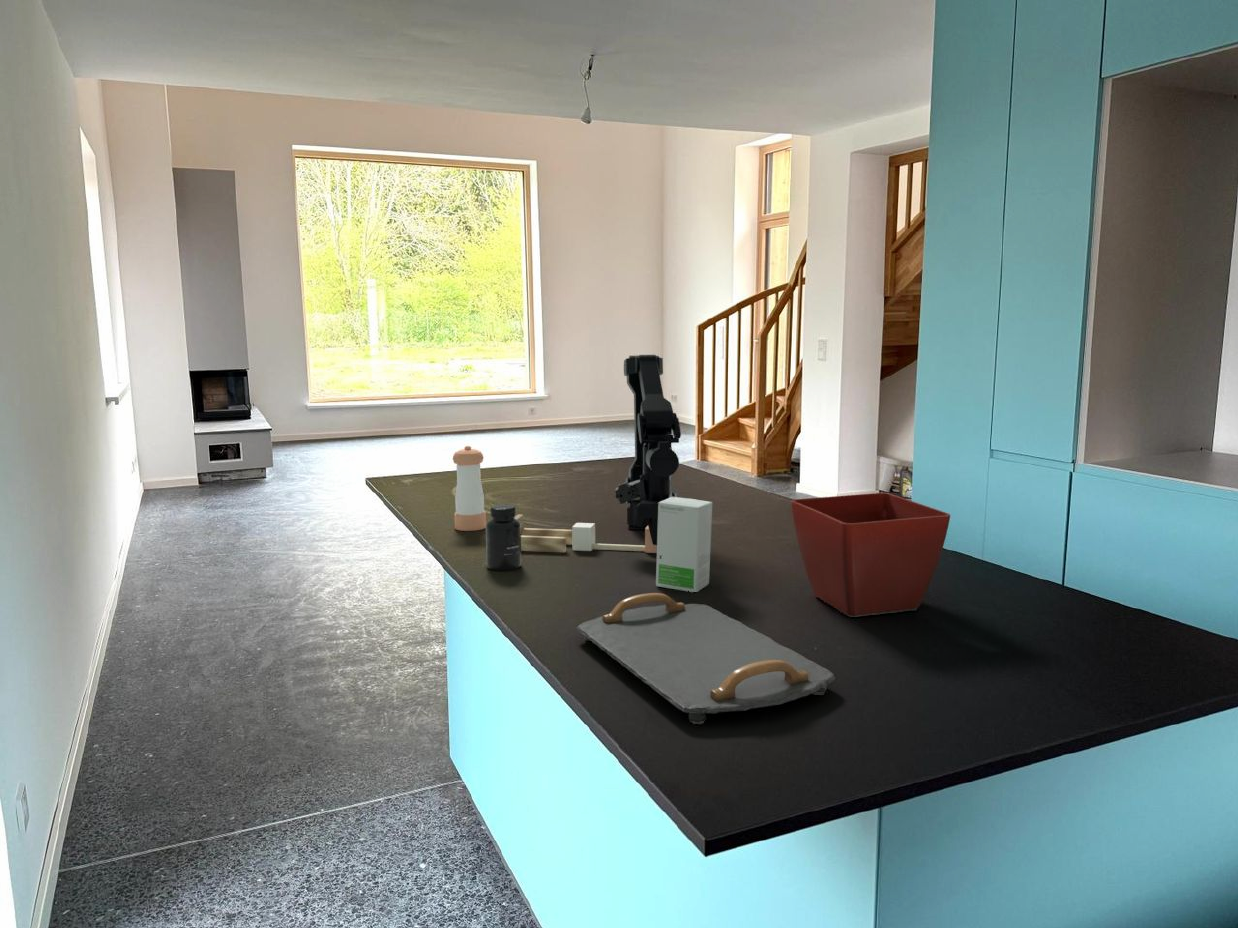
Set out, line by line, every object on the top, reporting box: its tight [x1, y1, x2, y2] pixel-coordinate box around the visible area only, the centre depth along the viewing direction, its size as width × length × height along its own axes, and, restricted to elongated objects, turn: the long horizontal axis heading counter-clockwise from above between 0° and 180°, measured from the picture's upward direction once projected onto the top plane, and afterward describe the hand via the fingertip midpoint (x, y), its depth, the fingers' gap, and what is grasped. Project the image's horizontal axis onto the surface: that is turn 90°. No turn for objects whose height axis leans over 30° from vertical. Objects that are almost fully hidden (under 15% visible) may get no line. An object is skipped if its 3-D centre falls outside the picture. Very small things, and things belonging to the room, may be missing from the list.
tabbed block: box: [571, 522, 657, 554], centre depth 185 cm, size 18×4×5 cm, turn 79°
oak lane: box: [515, 513, 572, 553], centre depth 187 cm, size 12×8×6 cm, turn 80°
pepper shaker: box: [452, 445, 487, 532], centre depth 205 cm, size 7×7×19 cm
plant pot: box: [790, 492, 951, 616], centre depth 147 cm, size 19×19×17 cm
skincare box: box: [655, 496, 713, 593], centre depth 158 cm, size 8×7×16 cm
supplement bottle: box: [485, 504, 522, 572], centre depth 172 cm, size 7×7×12 cm
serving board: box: [576, 592, 836, 722], centre depth 123 cm, size 39×23×6 cm, turn 26°
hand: (656, 542), depth 183 cm, fingers closed on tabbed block, 3 cm apart
